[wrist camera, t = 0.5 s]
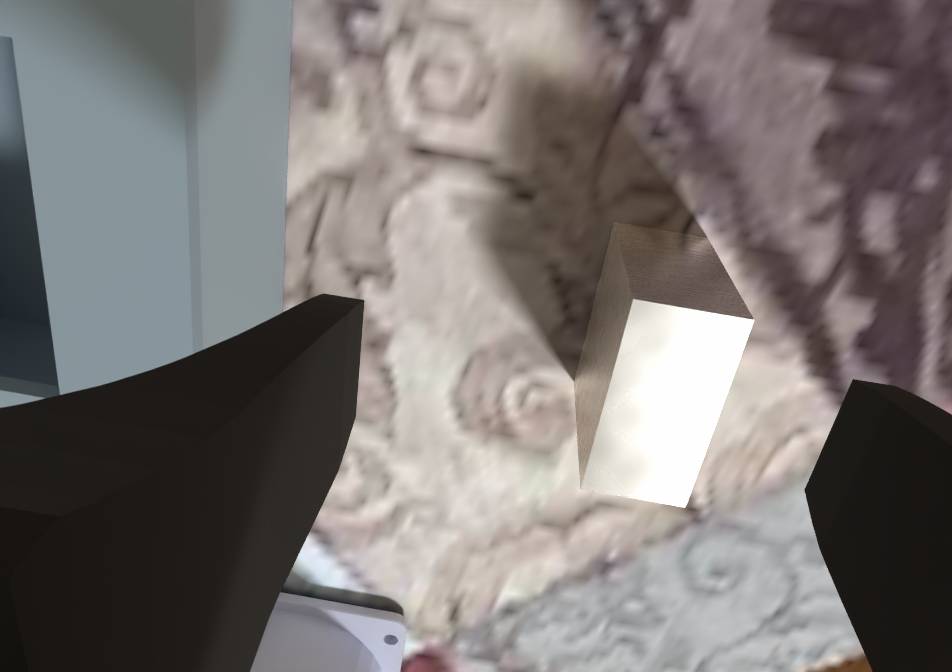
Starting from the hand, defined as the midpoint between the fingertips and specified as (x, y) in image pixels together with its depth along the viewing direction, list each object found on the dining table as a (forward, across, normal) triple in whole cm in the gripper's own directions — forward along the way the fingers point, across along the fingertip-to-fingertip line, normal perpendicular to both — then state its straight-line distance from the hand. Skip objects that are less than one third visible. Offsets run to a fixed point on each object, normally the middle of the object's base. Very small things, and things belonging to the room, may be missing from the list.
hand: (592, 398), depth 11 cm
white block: (+10, -2, +3) cm, 10 cm away
